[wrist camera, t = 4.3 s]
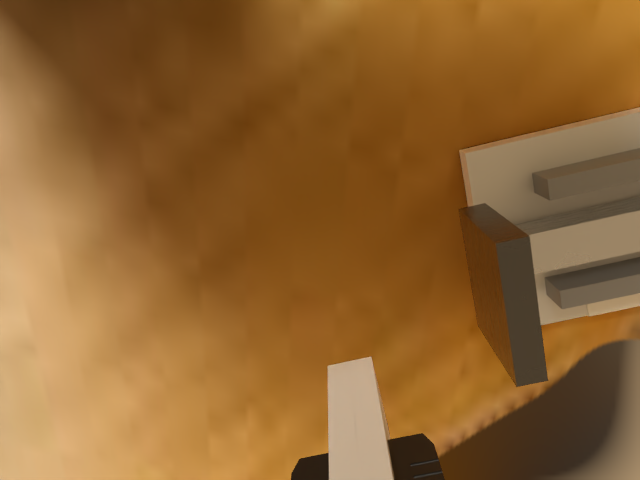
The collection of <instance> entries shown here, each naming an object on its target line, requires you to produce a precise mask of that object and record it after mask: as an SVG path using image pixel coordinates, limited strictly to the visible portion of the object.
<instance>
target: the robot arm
mask: <svg viewBox="0 0 640 480" xmlns="http://www.w3.org/2000/svg"><path fill="white" fill-rule="evenodd" d="M328 443H329V453H326V454H321V455H316V456H311V457H306V458H301V459H299V461H298V463H297V465H296V466H295V468H294V470H293V472H292V475H291V480H445V479H444V476H443V473H442V469H441V466H440V463H439V460H438V456H437V453H436V450H435V447H434V444H433V443H432V442H431V441H430V440H429V439H428V438H427V437H426V436H425V435H424V434H423V433H421V434H416V435H411V436H406V437H401V438H396V439H391V440H390V435H389V429H388V424H387V420H386V416H385V412H384V407H383V403H382V399H381V395H380V391H379V386H378V382H377V378H376V374H375V370H374V365H373V361H372V357H367V358H362V359H357V360H352V361H348V362H343V363H338V364H333V365H329V366H328Z"/></svg>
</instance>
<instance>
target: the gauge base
mask: <svg viewBox="0 0 640 480" xmlns="http://www.w3.org/2000/svg"><path fill="white" fill-rule="evenodd" d="M459 153H460V160H461V166H462V172H463V178H464V185H465V191H466V197H467V203H468V207H470V206H474V205H479V204H483V203H486V204H487V205H488V206H490V207H491V208H492V209H494V210H495V211H496V212H498V213H499V214H501V215H502V216H503V217H505V218H506V219H507V220H509V221H510V222H511V223H513V224H514V225H515V224H520V223H524V222H528V221H533V220H537V219H542V218H546V217H551V216H555V215H560V214H564V213H569V212H573V211H578V210H582V209H586V208H591V207H595V206H600V205H604V204H609V203H613V202H618V201H622V200H627V199H631V198H636V197H640V107H638V108H634V109H630V110H626V111H622V112H617V113H613V114H609V115H605V116H601V117H596V118H592V119H588V120H584V121H579V122H575V123H571V124H567V125H563V126H558V127H554V128H550V129H546V130H542V131H537V132H533V133H529V134H525V135H521V136H516V137H512V138H508V139H504V140H499V141H495V142H491V143H487V144H483V145H478V146H474V147H470V148H466V149H462V150H459ZM534 275H535V283H536V291H537V299H538V307H539V315H540V323H541V325H545V324H550V323H555V322H559V321H564V320H569V319H574V318H579V317H583V316H594V315H599V314H604V313H609V312H613V311H618V310H623V309H628V308H633V307H637V306H640V252H635V253H630V254H626V255H621V256H616V257H612V258H607V259H603V260H598V261H593V262H589V263H584V264H579V265H575V266H570V267H566V268H561V269H556V270H552V271H547V272H542V273H538V274H534Z"/></svg>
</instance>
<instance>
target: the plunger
mask: <svg viewBox="0 0 640 480" xmlns="http://www.w3.org/2000/svg"><path fill="white" fill-rule="evenodd" d="M459 214H460V220H461V226H462V232H463V238H464V244H465V250H466V256H467V262H468V268H469V275H470V281H471V287H472V293H473V299H474V305H475V311H476V317H477V323H478V327H479V328H480V330H481V331H482V333H483V334H484V336H485V338H486V339H487V341H488V342H489V344H490V345H491V347H492V349H493V350H494V352H495V353H496V355H497V356H498V358H499V360H500V361H501V363H502V364H503V366H504V368H505V369H506V371H507V372H508V374H509V375H510V377H511V379H512V380H513V382H514V383H515V385H516V386H517V387H518V386H523V385H528V384H533V383H538V382H543V381H548V378H547V370H546V362H545V354H544V346H543V338H542V331H541V323H540V315H539V307H538V299H537V291H536V283H535V275H534V274H538V273H542V272H547V271H552V270H556V269H561V268H566V267H570V266H575V265H579V264H584V263H589V262H593V261H598V260H603V259H607V258H612V257H616V256H621V255H626V254H630V253H635V252H640V197H636V198H631V199H627V200H622V201H618V202H613V203H609V204H604V205H600V206H595V207H591V208H586V209H582V210H578V211H573V212H569V213H564V214H560V215H555V216H551V217H546V218H542V219H537V220H533V221H528V222H524V223H520V224H515V225H514V224H513V223H511V222H510V221H509V220H507V219H506V218H505V217H503V216H502V215H501V214H499V213H498V212H496V211H495V210H494V209H492V208H491V207H490V206H488V205H487V204H486V203H483V204H479V205H474V206H470V207H465V208H461V209H459Z"/></svg>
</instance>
